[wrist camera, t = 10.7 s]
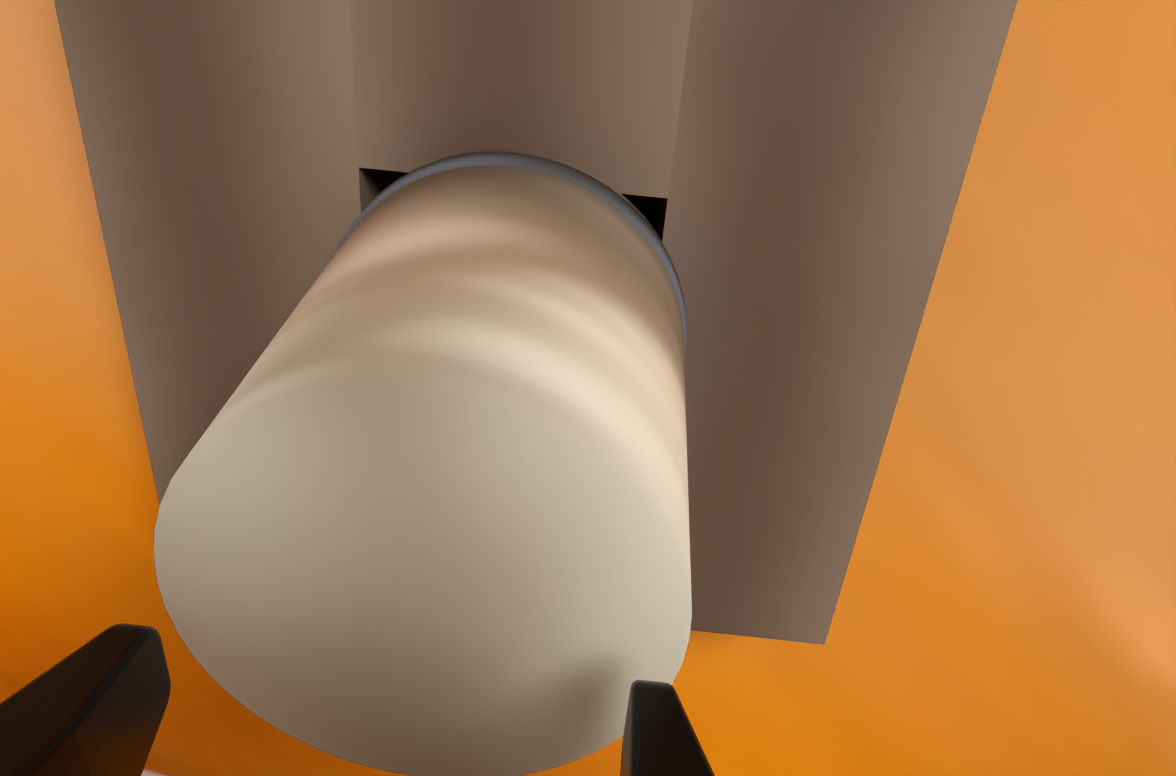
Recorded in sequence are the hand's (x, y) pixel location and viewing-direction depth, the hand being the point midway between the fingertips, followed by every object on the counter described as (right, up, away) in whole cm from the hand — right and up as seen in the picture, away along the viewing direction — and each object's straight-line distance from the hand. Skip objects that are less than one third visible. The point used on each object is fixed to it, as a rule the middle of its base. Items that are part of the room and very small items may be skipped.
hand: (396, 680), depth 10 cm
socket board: (+1, +6, +9) cm, 11 cm away
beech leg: (+1, +6, +9) cm, 11 cm away
